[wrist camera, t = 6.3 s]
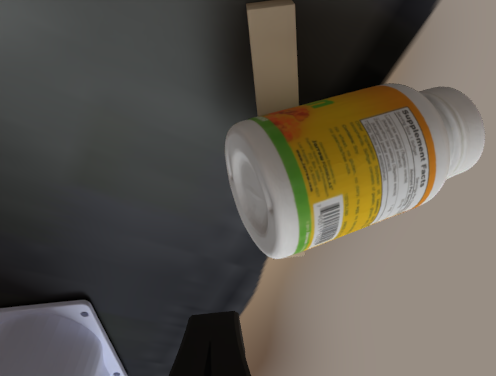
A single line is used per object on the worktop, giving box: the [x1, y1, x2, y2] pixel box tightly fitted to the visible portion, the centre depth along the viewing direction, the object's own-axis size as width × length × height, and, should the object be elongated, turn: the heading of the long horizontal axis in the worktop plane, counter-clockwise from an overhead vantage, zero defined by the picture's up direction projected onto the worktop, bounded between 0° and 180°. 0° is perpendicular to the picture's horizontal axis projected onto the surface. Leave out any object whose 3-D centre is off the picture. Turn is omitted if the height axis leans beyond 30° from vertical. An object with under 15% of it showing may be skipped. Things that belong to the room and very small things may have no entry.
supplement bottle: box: [225, 84, 485, 259], centre depth 16 cm, size 5×5×10 cm
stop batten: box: [246, 0, 305, 259], centre depth 19 cm, size 13×2×2 cm, turn 6°
